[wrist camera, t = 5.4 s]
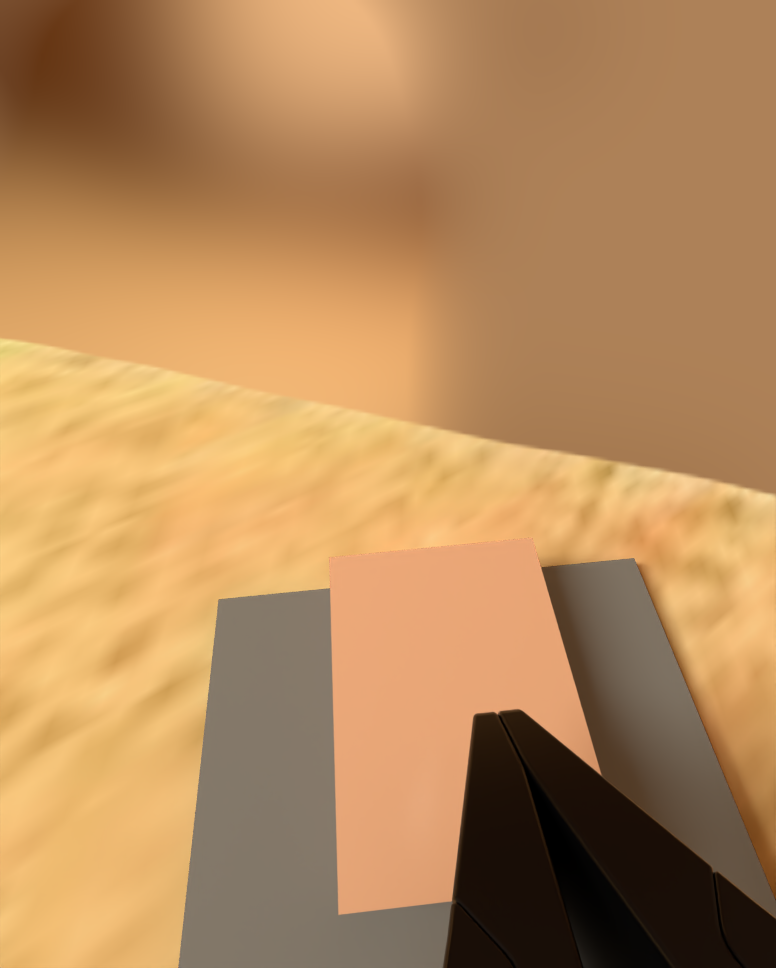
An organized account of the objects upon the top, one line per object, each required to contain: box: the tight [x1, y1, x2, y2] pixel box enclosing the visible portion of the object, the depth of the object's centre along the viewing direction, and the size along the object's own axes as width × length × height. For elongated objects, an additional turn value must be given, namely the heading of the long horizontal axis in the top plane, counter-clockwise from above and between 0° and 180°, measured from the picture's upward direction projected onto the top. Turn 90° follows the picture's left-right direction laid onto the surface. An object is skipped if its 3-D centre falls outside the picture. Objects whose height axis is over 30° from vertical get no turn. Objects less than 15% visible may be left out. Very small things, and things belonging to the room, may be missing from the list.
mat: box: [178, 558, 776, 968], centre depth 13 cm, size 18×16×1 cm
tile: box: [329, 538, 601, 915], centre depth 14 cm, size 2×7×9 cm
